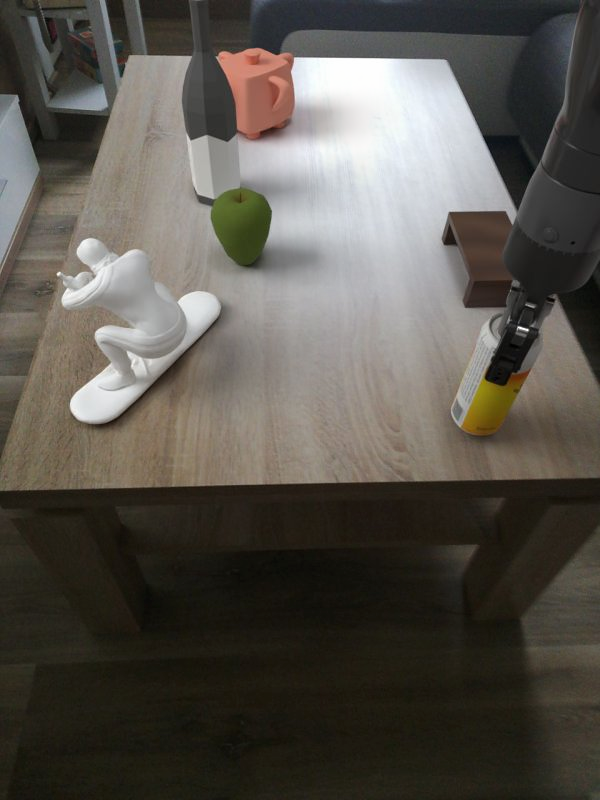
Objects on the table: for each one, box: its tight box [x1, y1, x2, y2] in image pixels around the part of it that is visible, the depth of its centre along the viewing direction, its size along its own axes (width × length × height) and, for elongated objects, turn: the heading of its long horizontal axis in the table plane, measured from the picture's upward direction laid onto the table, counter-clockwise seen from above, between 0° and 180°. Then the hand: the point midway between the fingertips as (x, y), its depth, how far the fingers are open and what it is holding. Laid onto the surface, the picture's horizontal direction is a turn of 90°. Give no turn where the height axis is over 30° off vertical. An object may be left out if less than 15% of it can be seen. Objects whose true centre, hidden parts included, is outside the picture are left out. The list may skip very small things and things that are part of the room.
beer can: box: [450, 310, 544, 436], centre depth 61 cm, size 6×6×15 cm
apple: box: [209, 187, 273, 266], centre depth 81 cm, size 9×8×12 cm
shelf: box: [441, 210, 514, 308], centre depth 83 cm, size 16×9×5 cm, turn 3°
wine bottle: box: [181, 0, 242, 207], centre depth 84 cm, size 8×8×30 cm
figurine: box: [56, 237, 222, 425], centre depth 66 cm, size 26×13×17 cm, turn 148°
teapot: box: [217, 47, 296, 140], centre depth 105 cm, size 17×16×13 cm
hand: (502, 358), depth 59 cm, fingers closed on beer can, 6 cm apart
